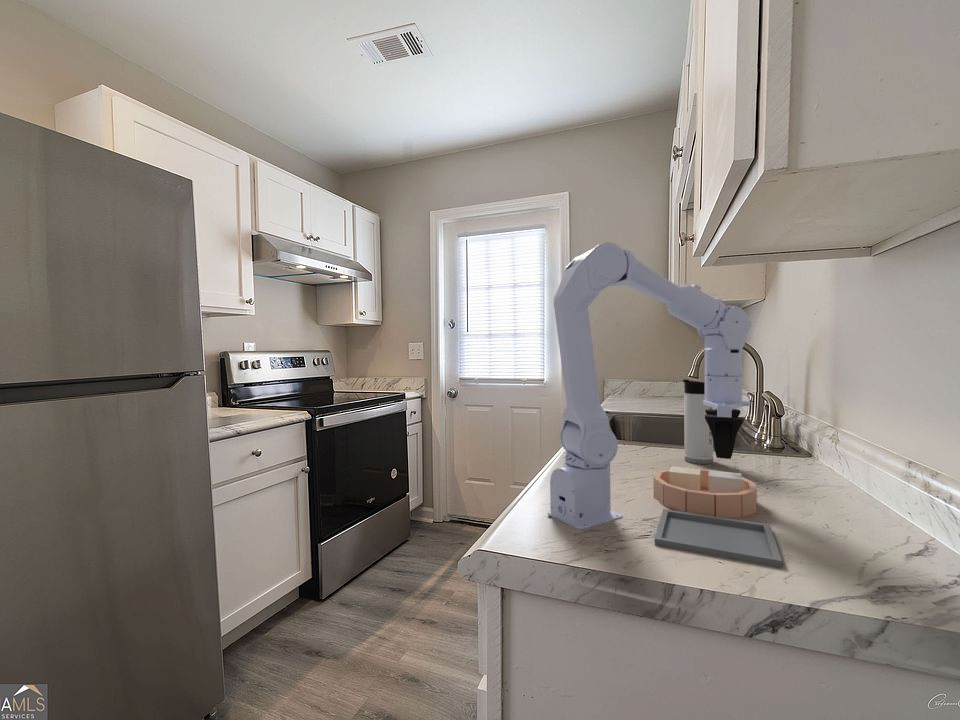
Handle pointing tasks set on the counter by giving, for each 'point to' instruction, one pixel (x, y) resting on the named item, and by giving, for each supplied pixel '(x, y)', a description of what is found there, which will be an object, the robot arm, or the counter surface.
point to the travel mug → (696, 424)
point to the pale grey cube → (724, 482)
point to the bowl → (706, 497)
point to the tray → (718, 537)
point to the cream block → (685, 478)
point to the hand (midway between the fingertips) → (723, 453)
